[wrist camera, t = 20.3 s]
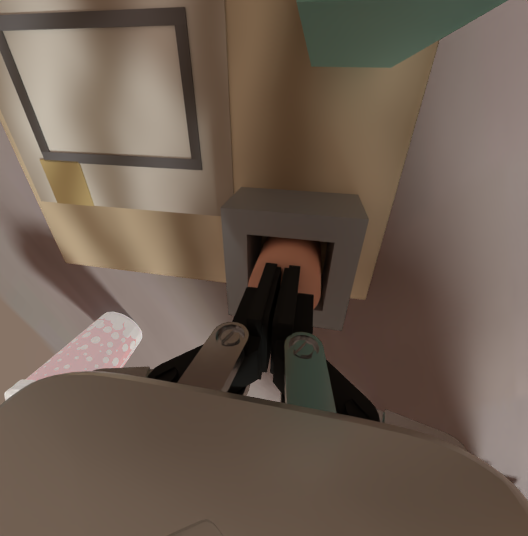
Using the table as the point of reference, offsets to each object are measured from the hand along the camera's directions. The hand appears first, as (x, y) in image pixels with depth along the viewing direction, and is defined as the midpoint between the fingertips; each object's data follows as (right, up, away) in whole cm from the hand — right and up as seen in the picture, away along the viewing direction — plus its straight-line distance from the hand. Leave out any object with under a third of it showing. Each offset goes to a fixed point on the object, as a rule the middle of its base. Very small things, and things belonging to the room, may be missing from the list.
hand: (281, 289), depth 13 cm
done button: (+1, +2, +4) cm, 5 cm away
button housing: (+1, +3, +5) cm, 6 cm away
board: (-6, +9, +3) cm, 11 cm away
